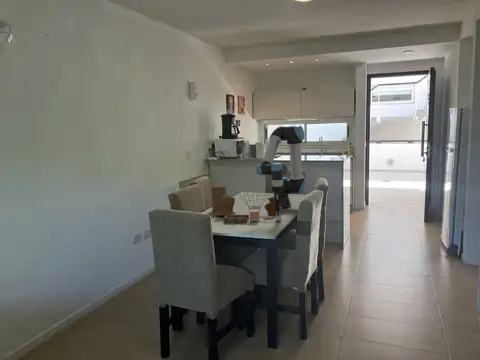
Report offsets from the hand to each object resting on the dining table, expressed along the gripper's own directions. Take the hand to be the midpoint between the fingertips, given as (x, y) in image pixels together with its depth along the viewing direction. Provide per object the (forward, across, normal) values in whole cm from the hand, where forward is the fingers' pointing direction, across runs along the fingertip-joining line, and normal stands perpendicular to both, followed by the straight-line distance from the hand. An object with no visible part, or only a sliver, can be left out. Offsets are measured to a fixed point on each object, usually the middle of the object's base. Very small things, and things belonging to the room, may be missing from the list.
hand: (278, 219), depth 275 cm
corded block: (+1, 0, -9) cm, 9 cm away
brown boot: (+2, -18, -40) cm, 44 cm away
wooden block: (+1, -35, -48) cm, 60 cm away
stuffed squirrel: (+2, -18, -5) cm, 19 cm away
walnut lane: (+1, 0, -29) cm, 29 cm away
